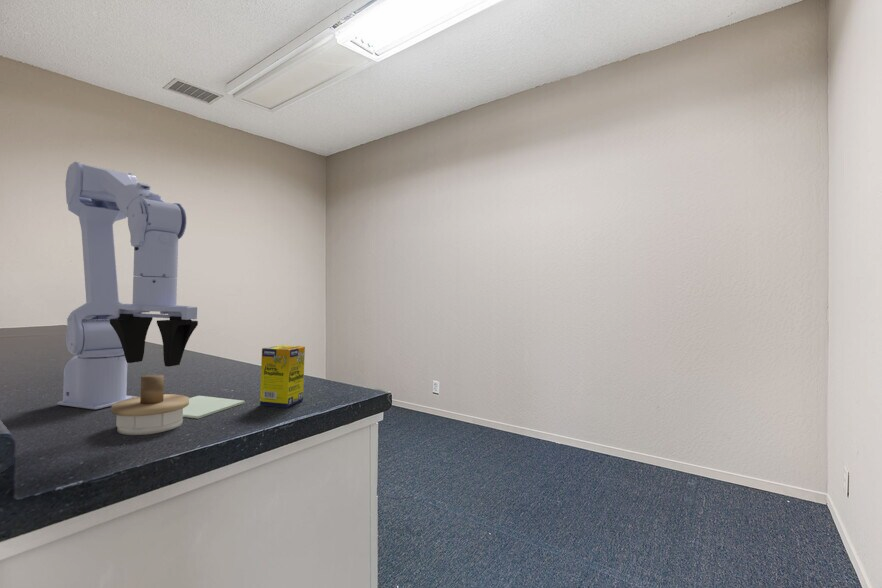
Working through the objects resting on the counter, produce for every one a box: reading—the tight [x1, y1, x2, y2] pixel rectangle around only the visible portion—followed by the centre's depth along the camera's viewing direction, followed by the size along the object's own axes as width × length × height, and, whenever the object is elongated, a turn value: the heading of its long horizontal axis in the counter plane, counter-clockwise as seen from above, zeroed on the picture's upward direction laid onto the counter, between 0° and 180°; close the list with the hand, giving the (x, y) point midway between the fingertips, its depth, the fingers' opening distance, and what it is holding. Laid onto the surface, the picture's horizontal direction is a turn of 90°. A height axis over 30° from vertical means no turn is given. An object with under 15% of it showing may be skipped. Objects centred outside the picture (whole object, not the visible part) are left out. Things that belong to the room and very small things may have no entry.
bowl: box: [115, 408, 184, 436], centre depth 66 cm, size 8×8×3 cm
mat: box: [183, 395, 246, 420], centre depth 77 cm, size 11×11×1 cm
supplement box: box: [259, 344, 306, 409], centre depth 82 cm, size 6×6×11 cm
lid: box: [110, 374, 190, 416], centre depth 66 cm, size 10×10×5 cm
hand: (153, 363), depth 66 cm, fingers open, 7 cm apart
